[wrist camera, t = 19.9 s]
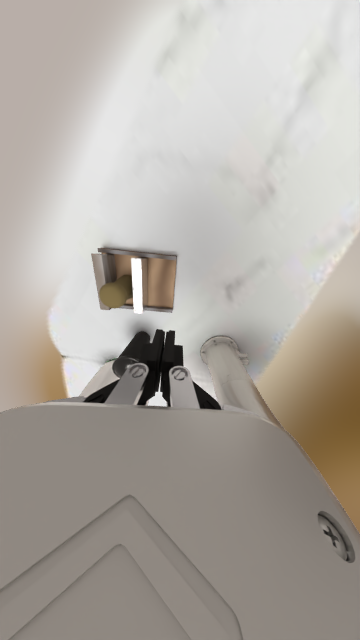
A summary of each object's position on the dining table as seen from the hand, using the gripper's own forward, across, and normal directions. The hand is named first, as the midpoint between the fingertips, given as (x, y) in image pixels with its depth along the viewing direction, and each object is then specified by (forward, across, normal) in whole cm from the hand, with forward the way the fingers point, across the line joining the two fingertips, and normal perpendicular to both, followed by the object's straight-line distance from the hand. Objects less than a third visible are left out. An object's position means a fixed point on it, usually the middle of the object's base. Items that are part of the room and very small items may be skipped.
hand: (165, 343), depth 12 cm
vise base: (+27, +9, 0) cm, 29 cm away
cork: (+26, +12, +1) cm, 29 cm away
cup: (+27, +19, +31) cm, 45 cm away
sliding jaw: (+26, +8, 0) cm, 27 cm away
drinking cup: (+27, +9, +18) cm, 34 cm away
